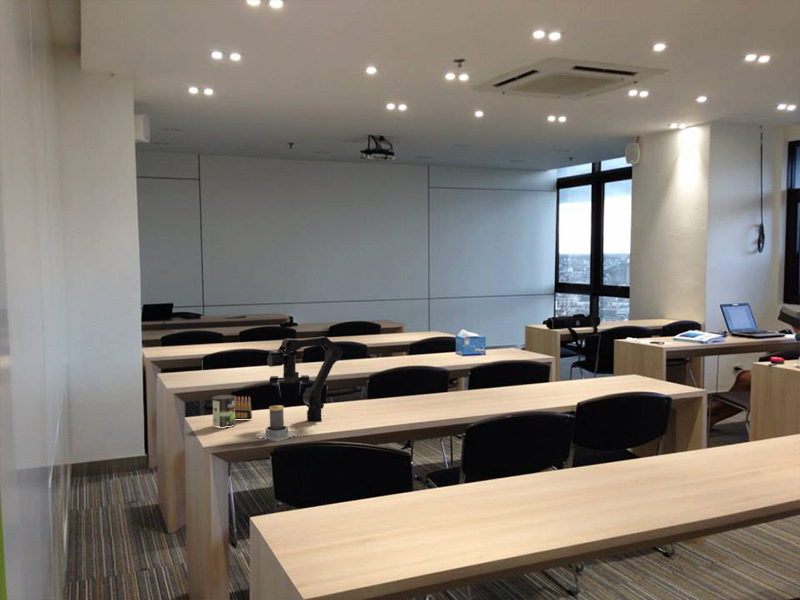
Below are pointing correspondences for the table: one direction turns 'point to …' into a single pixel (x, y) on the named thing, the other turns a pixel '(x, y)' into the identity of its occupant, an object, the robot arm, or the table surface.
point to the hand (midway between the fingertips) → (289, 397)
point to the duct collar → (277, 434)
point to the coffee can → (223, 410)
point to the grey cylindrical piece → (276, 417)
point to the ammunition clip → (243, 408)
